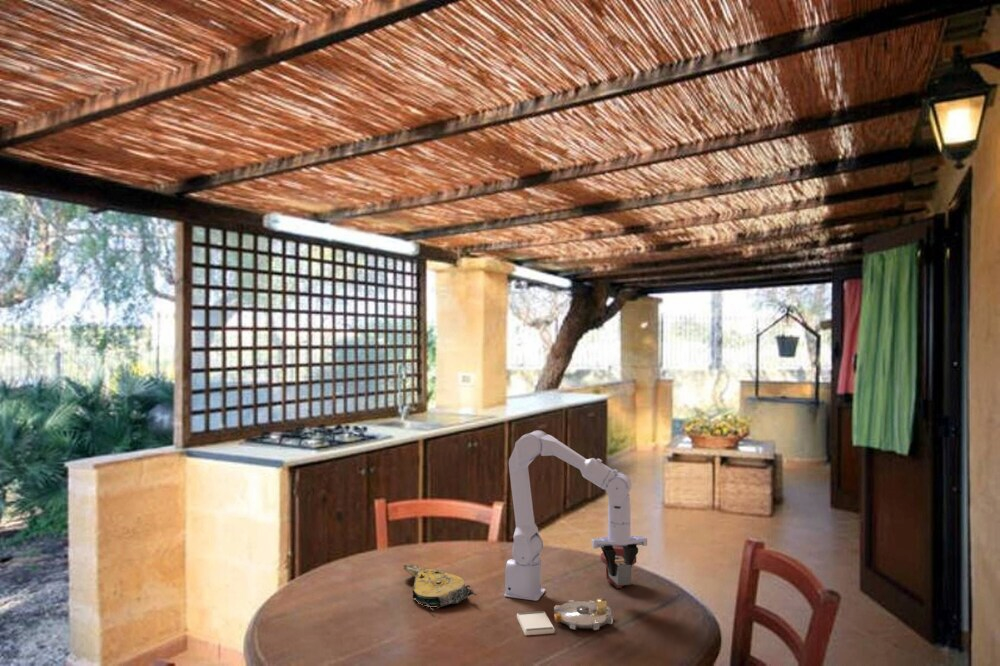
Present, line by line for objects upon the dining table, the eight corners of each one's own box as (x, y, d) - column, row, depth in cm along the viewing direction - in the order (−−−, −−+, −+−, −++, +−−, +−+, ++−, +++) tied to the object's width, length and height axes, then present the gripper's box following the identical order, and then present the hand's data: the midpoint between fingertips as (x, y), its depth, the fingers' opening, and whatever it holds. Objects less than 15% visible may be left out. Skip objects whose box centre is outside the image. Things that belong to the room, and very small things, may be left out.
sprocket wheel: (544, 609, 158) (543, 591, 158) (596, 602, 163) (596, 584, 163) (567, 634, 144) (567, 614, 145) (624, 625, 149) (624, 606, 149)
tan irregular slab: (433, 549, 190) (477, 581, 163) (435, 568, 190) (480, 603, 164) (388, 564, 183) (427, 600, 157) (391, 584, 183) (431, 623, 157)
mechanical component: (636, 579, 182) (636, 592, 173) (601, 577, 184) (600, 589, 175) (636, 536, 183) (636, 546, 173) (601, 534, 185) (599, 544, 175)
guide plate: (516, 617, 156) (516, 612, 156) (544, 615, 157) (544, 610, 157) (525, 635, 146) (525, 630, 146) (554, 633, 147) (554, 628, 147)
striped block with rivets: (608, 575, 166) (608, 555, 166) (621, 575, 166) (621, 555, 167) (617, 585, 159) (617, 564, 159) (631, 584, 160) (630, 563, 160)
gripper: (639, 516, 168) (640, 567, 168) (587, 518, 166) (587, 570, 165) (650, 523, 161) (650, 576, 161) (596, 525, 159) (596, 580, 158)
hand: (619, 574), depth 163 cm, fingers closed on striped block with rivets, 3 cm apart
